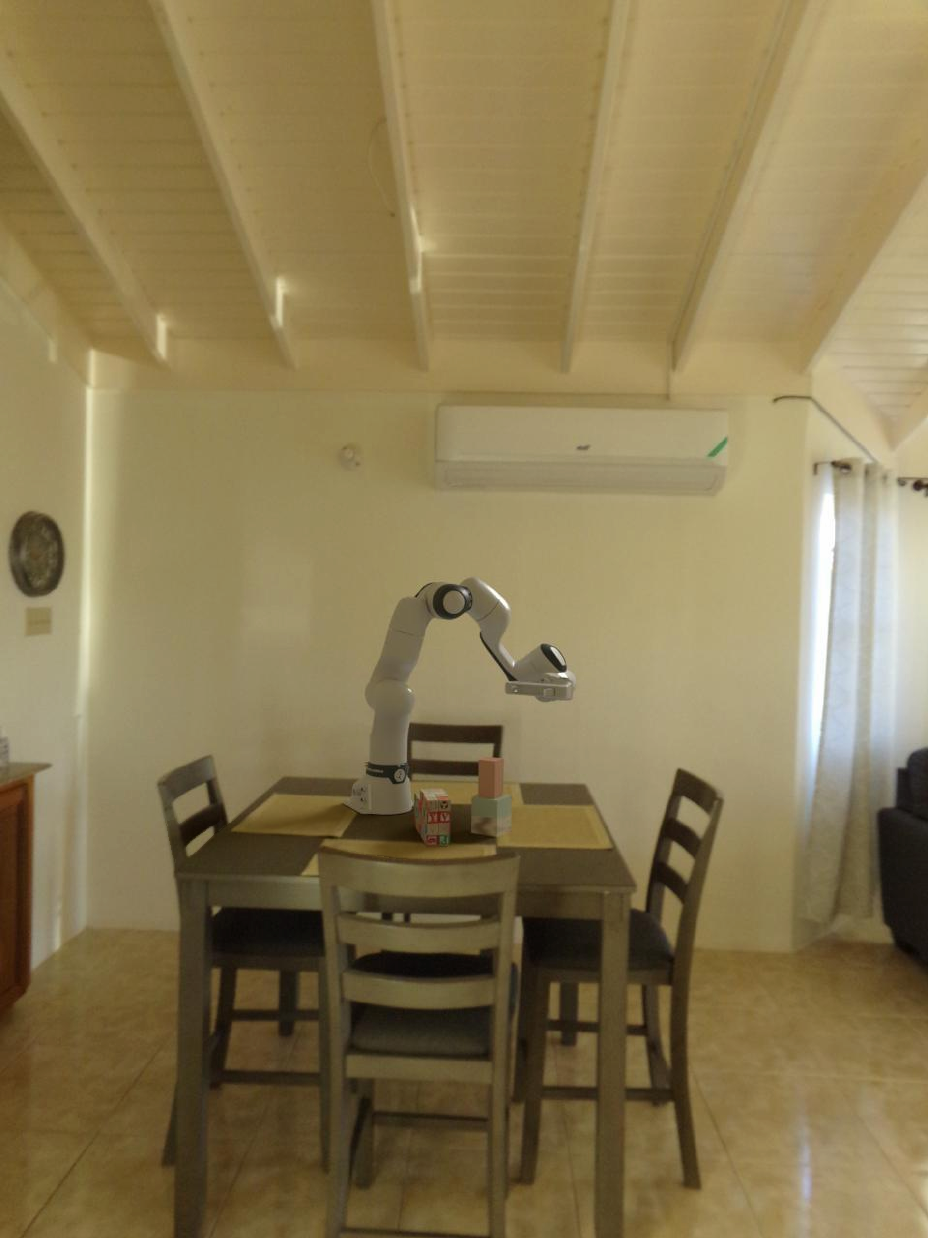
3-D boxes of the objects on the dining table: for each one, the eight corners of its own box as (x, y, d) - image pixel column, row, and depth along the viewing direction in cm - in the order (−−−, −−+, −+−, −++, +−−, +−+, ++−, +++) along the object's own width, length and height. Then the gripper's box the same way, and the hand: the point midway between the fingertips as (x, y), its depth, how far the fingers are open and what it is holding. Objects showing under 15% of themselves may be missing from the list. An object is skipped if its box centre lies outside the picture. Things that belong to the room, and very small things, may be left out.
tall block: (478, 796, 254) (478, 759, 253) (487, 793, 258) (487, 756, 258) (494, 798, 251) (495, 761, 251) (503, 795, 256) (503, 758, 255)
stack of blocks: (413, 825, 261) (414, 781, 260) (435, 824, 262) (436, 781, 261) (426, 847, 240) (427, 799, 239) (450, 846, 241) (451, 798, 240)
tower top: (471, 814, 254) (471, 796, 253) (486, 809, 260) (486, 791, 260) (496, 819, 249) (497, 800, 249) (511, 813, 256) (511, 795, 256)
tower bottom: (471, 833, 254) (471, 814, 254) (485, 826, 261) (486, 809, 260) (496, 837, 250) (497, 819, 249) (511, 831, 256) (511, 813, 256)
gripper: (516, 675, 291) (495, 678, 279) (577, 679, 281) (559, 683, 269) (516, 695, 291) (495, 699, 279) (577, 700, 281) (558, 705, 269)
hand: (527, 691), depth 274 cm, fingers open, 8 cm apart
